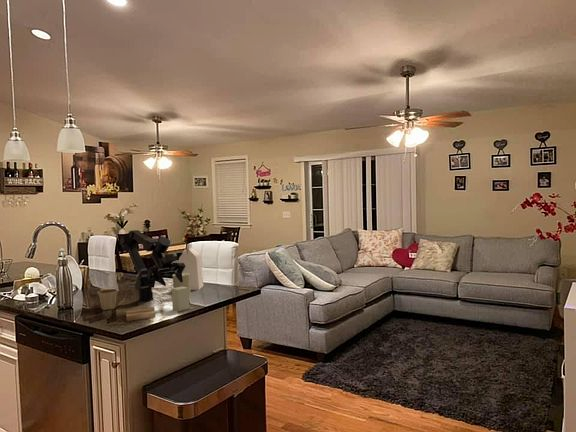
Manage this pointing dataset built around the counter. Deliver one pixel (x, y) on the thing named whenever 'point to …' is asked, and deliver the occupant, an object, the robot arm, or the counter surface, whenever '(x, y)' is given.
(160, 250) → the robot arm
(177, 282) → the olive grey block
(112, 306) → the flower pot
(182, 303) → the canister
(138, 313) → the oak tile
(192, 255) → the milk
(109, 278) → the counter surface
